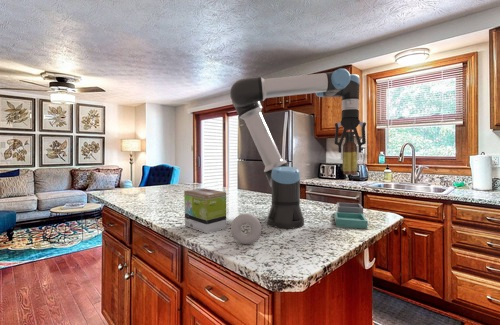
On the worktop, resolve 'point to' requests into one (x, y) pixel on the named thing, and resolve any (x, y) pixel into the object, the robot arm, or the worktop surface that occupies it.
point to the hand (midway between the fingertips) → (349, 159)
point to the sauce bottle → (349, 155)
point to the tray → (350, 220)
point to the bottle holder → (349, 208)
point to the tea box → (205, 209)
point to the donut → (242, 236)
